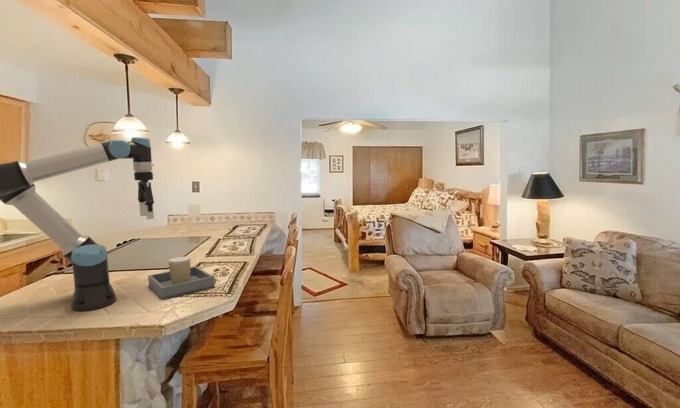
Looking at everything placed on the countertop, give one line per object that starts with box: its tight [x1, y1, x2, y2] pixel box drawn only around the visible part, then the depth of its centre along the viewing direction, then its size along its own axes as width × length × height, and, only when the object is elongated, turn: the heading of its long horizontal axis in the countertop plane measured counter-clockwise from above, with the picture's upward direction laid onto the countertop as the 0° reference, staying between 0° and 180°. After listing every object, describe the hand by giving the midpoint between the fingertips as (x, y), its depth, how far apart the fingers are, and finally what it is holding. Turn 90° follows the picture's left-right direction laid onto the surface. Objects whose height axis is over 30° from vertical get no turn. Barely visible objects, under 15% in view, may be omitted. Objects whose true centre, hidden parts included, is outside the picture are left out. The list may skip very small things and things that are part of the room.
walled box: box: [147, 265, 216, 301], centre depth 165 cm, size 22×23×5 cm
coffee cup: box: [167, 256, 192, 285], centre depth 165 cm, size 9×9×12 cm
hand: (146, 217), depth 167 cm, fingers open, 13 cm apart
